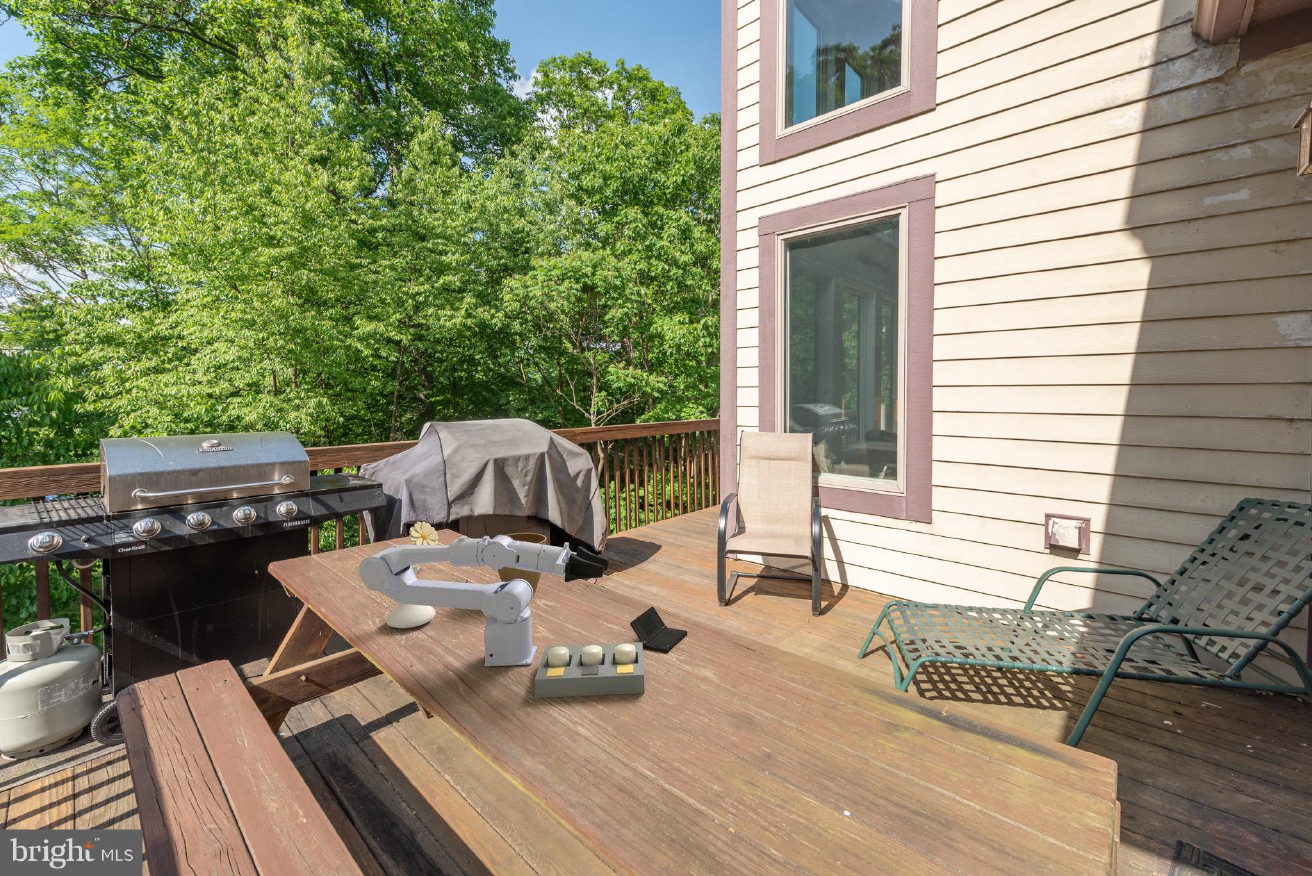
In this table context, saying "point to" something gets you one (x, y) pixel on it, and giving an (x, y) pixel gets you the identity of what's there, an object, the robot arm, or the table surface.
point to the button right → (625, 654)
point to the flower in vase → (415, 613)
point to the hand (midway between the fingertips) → (605, 568)
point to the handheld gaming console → (656, 632)
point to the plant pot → (513, 573)
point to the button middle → (591, 655)
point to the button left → (558, 657)
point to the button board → (590, 674)
